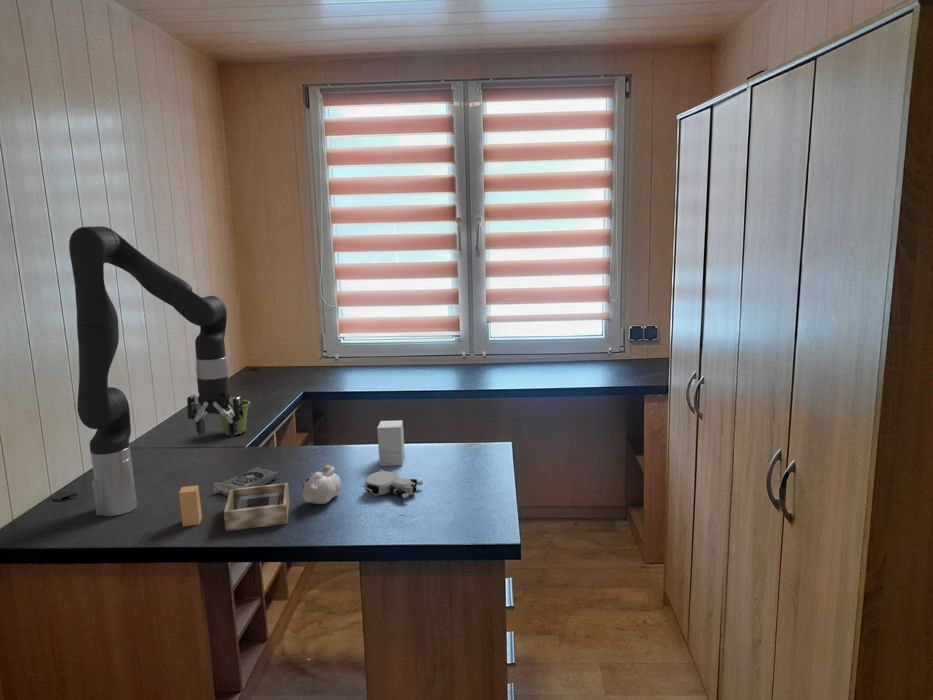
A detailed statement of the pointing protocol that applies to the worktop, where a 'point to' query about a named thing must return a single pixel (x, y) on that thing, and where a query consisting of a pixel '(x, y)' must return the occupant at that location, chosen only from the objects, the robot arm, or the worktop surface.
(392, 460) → the supplement box
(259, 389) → the worktop surface
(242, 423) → the plant pot
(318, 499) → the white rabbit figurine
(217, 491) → the graphics card
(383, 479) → the robot toy
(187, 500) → the orange rectangular block
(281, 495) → the walled box
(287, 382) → the worktop surface
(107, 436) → the robot arm
